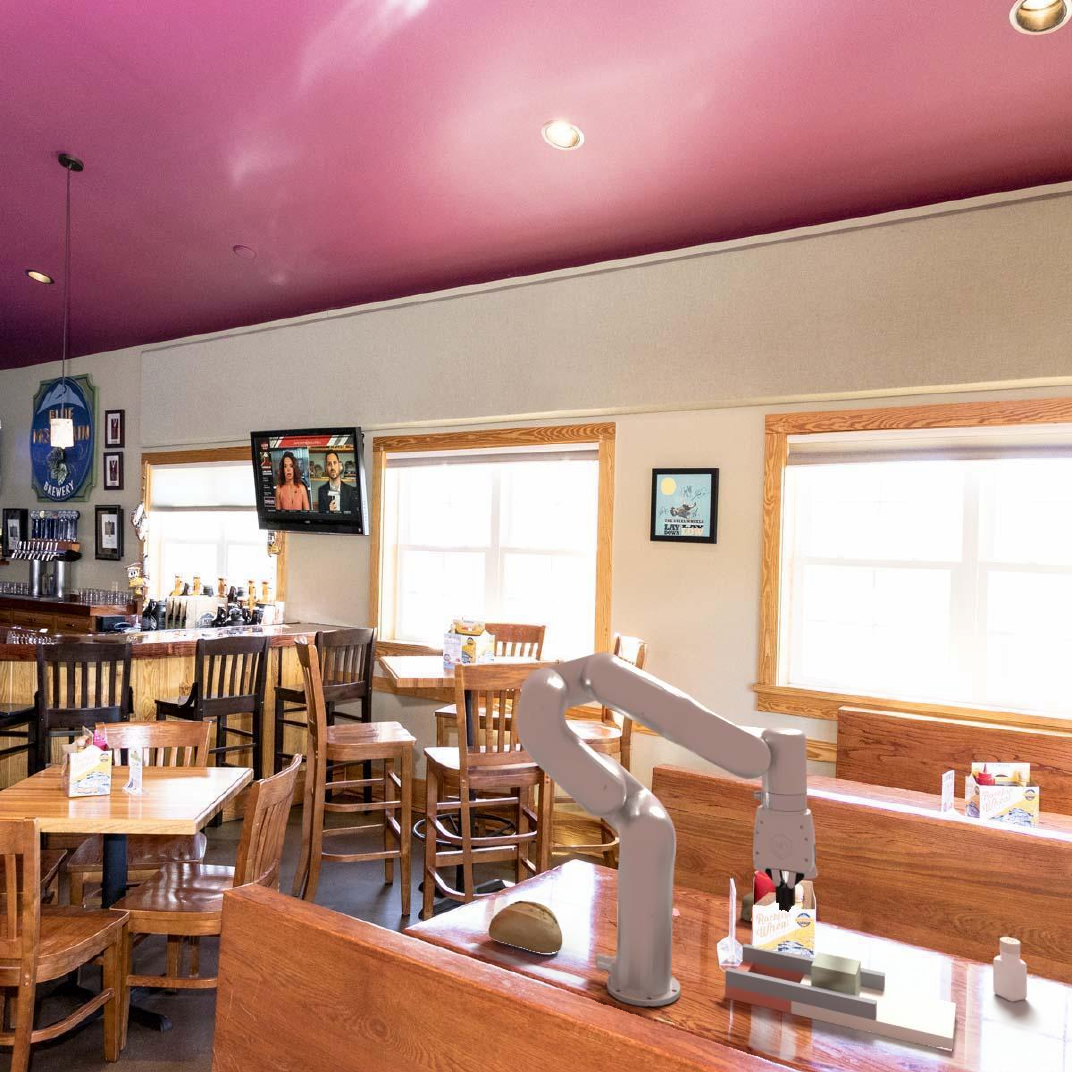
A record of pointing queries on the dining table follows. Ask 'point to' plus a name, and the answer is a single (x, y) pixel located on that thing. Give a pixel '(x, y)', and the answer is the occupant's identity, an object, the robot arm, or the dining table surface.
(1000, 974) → the salt shaker
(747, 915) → the stone block
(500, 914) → the bread roll
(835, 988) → the sage block
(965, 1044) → the dining table surface
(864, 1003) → the track
